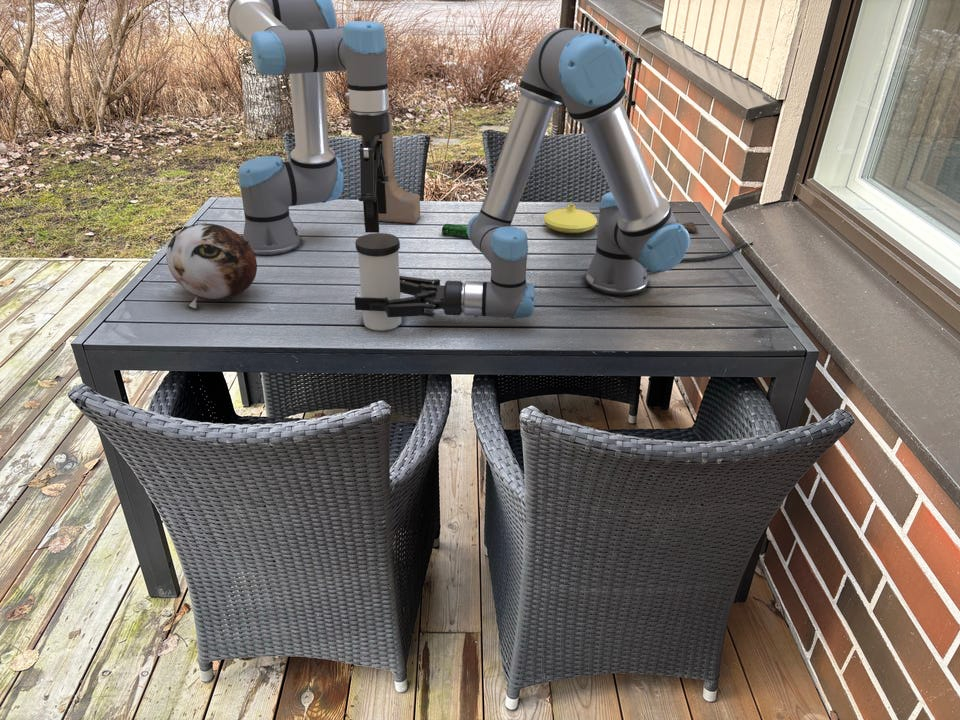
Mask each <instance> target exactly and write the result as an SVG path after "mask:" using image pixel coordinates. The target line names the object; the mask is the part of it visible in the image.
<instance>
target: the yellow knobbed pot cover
mask: <svg viewBox="0 0 960 720" xmlns="http://www.w3.org/2000/svg"><path fill="white" fill-rule="evenodd" d="M543 222H544V225H545V226H546V227H548V228H550V229H551V230H554V231H556V232H559V233H564V234H580V233H584V232H585V233H586V232H587V231H591V230H592V229H594V228H596V226H597V224H598V219H597V217H596V215H595V214H593V213H591V212H589V211H587V210H584V209H578V208H576V205H575V204H571V203H570V204H567V208H557V209H552V210H549V211H548V212H547V213H545V214H544V216H543Z"/></svg>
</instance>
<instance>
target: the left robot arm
mask: <svg viewBox="0 0 960 720" xmlns="http://www.w3.org/2000/svg"><path fill="white" fill-rule="evenodd" d="M226 12H227V13H226V15H227V22H228V24H229V26H230V28H231V30H232V32H234V34H235V35H236V36H237V37H238V38H239V39H241V40H243V41H244V42H247V43H249V44H250V52H251V58H252V63H253V66H254V68H255V71H256V72H257V74H259V75H263V76H275V77H276V76H278V77H279V76H281V75H289V85H290V95H291V107H292V118H293V119H292V121H293V133H294V143H295V147H294V148H293V149H292V150H291V151H290V160H287V161H284V160H283V158H282V157H281V156H279V155H263V156H258V157H255V158H251V159H248V160H246V161H245V162H243V163H241V165H240V166H239V168H238V170H237V174H238V186H239V189H240V194H241V195H240V196H241V201H242V207H243V212H244V213H243V215H244V219H245V220H244V226H243V228H244V229H243V235H240V236H241V237H243V238H244V239H245V240H246V241H249V242H248V244H249V245H250V247H251V248H252V250H253V252H254V254H255V256H256V255H257V256H275V255H281V254H282V255H283V254H285V253H289V252H291V251H293V250H296V249H297V248H298V247H299V246H300V244H301V241H300V235H299V233H298V229H297V228H296V226H295V225H294V223H293V220H292V218H291V216H290V207H294V206H295V207H296V206H303V205H311V204H312V205H313V204H325V203H327V202H331V201H337V200H338V199H339V198H340V197H341V195H342V193H343V190H344V189H343V188H344V182H345V181H344V179H345V175H344V172H343V171H344V167H343V162H342V160H341V158H340V157H339V156H336V153H335V151H334V150H333V149H332V148H331V147H330V142H329V139H330V137H329V122H328V121H329V120H328V105H327V103H328V102H327V91H326V90H327V87H326V73H329V72H346V73H345V74H346V82H347V84H346V85H347V92H345V94H344V96H345V98H347V99H348V107H349V108H348V109H349V110H350V111H351V112H350V114H349V122H350V132H351V133H352V134H353V135H356V136H360V137H361V136H362V137H363V140H362V139H361V143H360V144H359V149H358V152H359V163H360V164H359V165H360V167H359V170H360V196H358V201H359V202H362V205H363V219H364V220H363V221H364V232H365V233H367V234H373V233H380V221H379V218H378V214H386V213H387V209H386V191H385V183H383V182H388V176H386V170H385V160H384V151H383V141H382V136H383V135H384V134H387V133H388V132H389V131H390V118H389V114H390V113H389V112H388V110H389V109H390V97H389V96H390V94H389V93H390V92H389V85H388V83H389V82H388V59H387V48H388V46H387V45H388V43H387V39H386V31H385V26H384V25H383V24H382V23H381V22H379V21H372V20H354V21H352V20H351V21H347V22H346V23H345V24H344V25H343V26H341V25H340V26H338V23H337V22H338V21H337V16H336V10H335V7H334V3H333V0H230V1H229V3H228V6H227V11H226ZM366 194H371V195H366ZM183 227H184V228H186V227H188V226H187V225H186V226H178V227H176V228H174V229H173V230H171V232H170V234H176V233H177V232H179V231H180V230H182V228H183ZM184 228H183V229H184Z"/></svg>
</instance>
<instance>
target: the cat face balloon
mask: <svg viewBox="0 0 960 720" xmlns="http://www.w3.org/2000/svg"><path fill="white" fill-rule="evenodd" d="M241 236H242V235H240V234H239V233H238V232H236V231H234V230H233V229H231V228H229V227H226V226H223V225H220V224H215V223H205V222H204V223H195V224H191V225H188V226H187V227H186V228H184V229H181V230H178V231H177V232H176V233H175V234H174V235H173V237H171V239H170V241H169V243H168V245H167V248H166V254H165V260H166V265H167V268H168V271H169V273H170V275H171V276H172V277H173V279H174V280H175V281H176V282H177V284H178V285H180V286H181V287H182V288H183V289H185V290H186V291H187V292H189V293H191V294H194V295H195V298H194V299H193V300H192V302H190V303H189V304H188V306H189V307H191V308H192V309H197V308H198V307H197V298H198V297H201V298H205V299H210V300H226V299H230V298H233V297H236V296H238V295H241V294H242V293H244V292H245V291H247V290H248V289H249V288H250V286H251V285H252V284H253V282H254V280H255V278H256V275H257V271H258V262H257V257H256V254H254V252H253V250H252V248H251V247H250V245H249V244H248V242H249V241H246V240H245V239H244V238H243V237H241Z"/></svg>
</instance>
